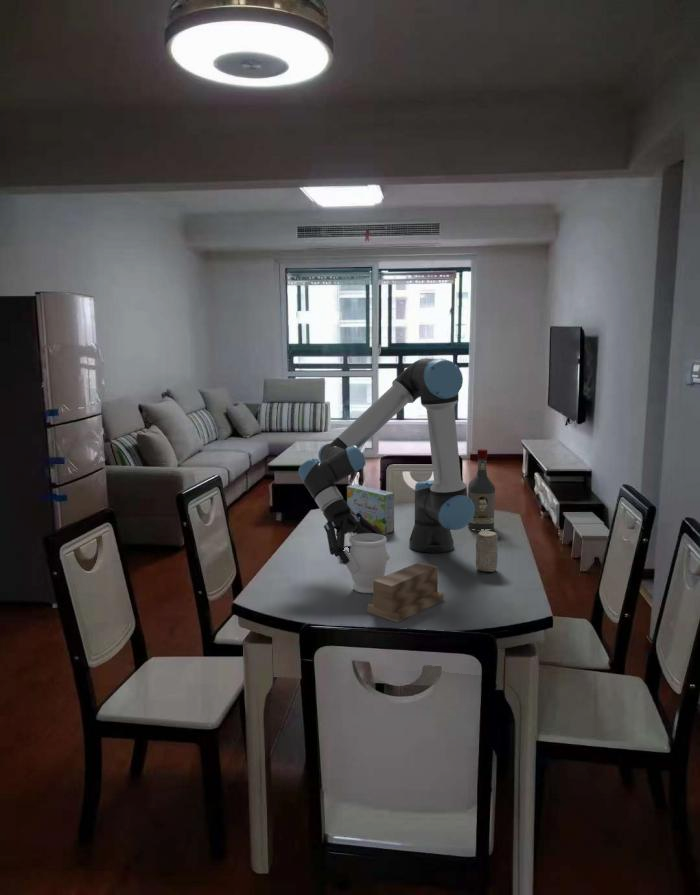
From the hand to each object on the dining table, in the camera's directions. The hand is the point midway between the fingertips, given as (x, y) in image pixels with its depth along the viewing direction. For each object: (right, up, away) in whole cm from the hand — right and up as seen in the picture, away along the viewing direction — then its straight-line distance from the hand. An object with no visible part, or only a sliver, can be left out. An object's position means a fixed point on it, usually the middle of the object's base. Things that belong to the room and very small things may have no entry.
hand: (371, 566), depth 188 cm
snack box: (+1, +3, +67) cm, 67 cm away
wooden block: (+9, -9, -11) cm, 16 cm away
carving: (+36, -5, +17) cm, 40 cm away
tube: (-8, -2, +40) cm, 41 cm away
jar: (-1, -7, +2) cm, 7 cm away
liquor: (+43, +3, +65) cm, 78 cm away
